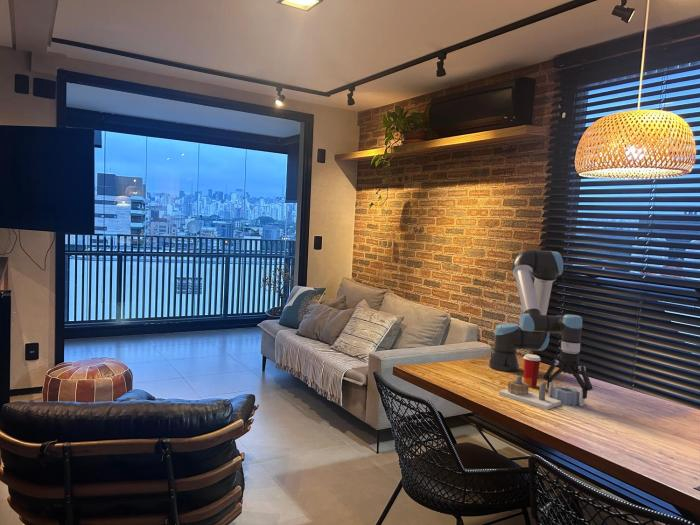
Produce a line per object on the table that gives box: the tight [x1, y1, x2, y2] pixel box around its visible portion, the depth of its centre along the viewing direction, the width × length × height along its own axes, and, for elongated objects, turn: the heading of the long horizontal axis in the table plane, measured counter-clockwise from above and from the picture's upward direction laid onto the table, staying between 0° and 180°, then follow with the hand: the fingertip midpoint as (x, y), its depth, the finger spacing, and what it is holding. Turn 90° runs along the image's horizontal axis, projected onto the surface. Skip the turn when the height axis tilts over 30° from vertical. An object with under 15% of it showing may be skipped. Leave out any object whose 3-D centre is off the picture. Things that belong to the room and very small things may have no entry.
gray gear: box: [551, 385, 581, 406], centre depth 217 cm, size 10×10×5 cm
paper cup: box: [522, 353, 542, 388], centre depth 238 cm, size 8×8×14 cm
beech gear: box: [507, 380, 530, 395], centre depth 221 cm, size 8×8×4 cm
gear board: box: [498, 375, 562, 411], centre depth 217 cm, size 12×22×8 cm, turn 41°
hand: (565, 401), depth 217 cm, fingers open, 13 cm apart
